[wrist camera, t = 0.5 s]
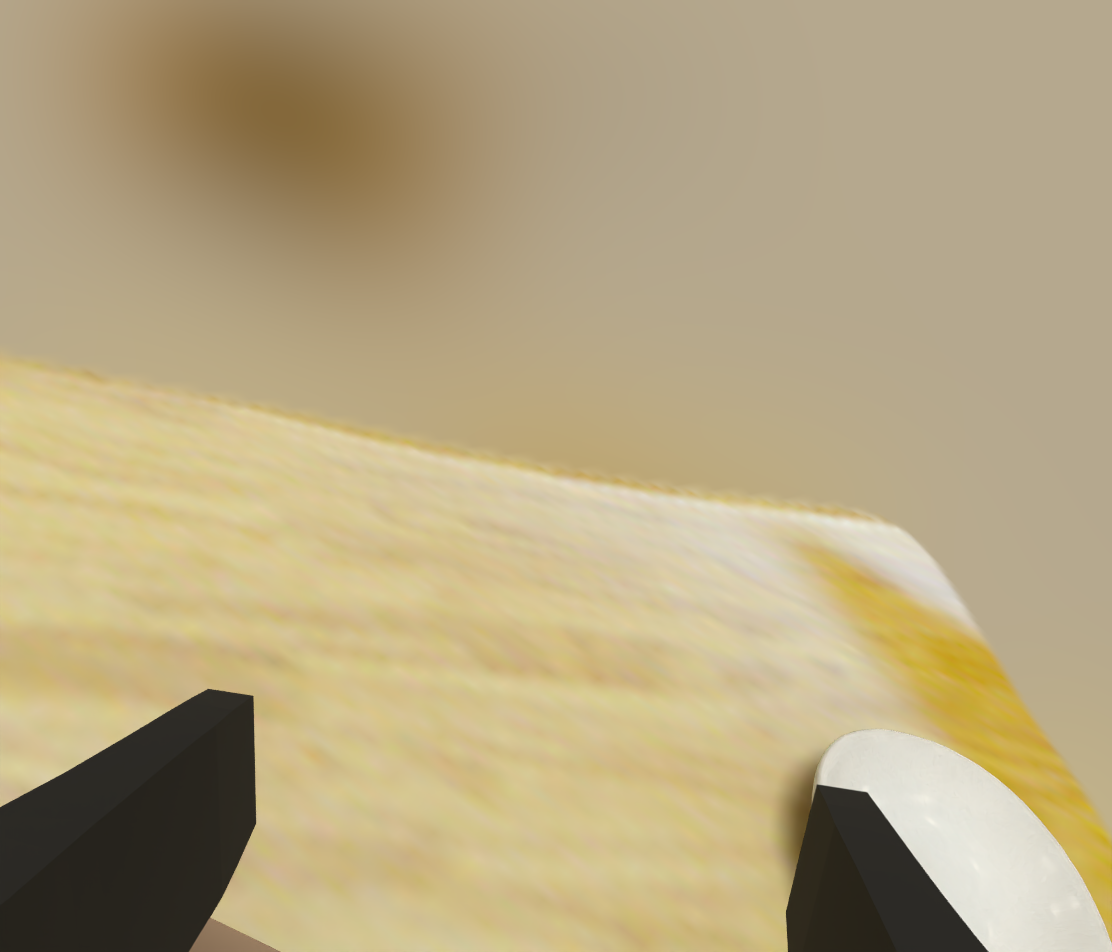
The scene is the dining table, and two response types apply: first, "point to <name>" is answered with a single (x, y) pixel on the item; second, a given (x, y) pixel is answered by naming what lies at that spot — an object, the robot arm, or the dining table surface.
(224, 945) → the walnut block
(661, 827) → the dining table surface
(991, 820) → the spoon rest
